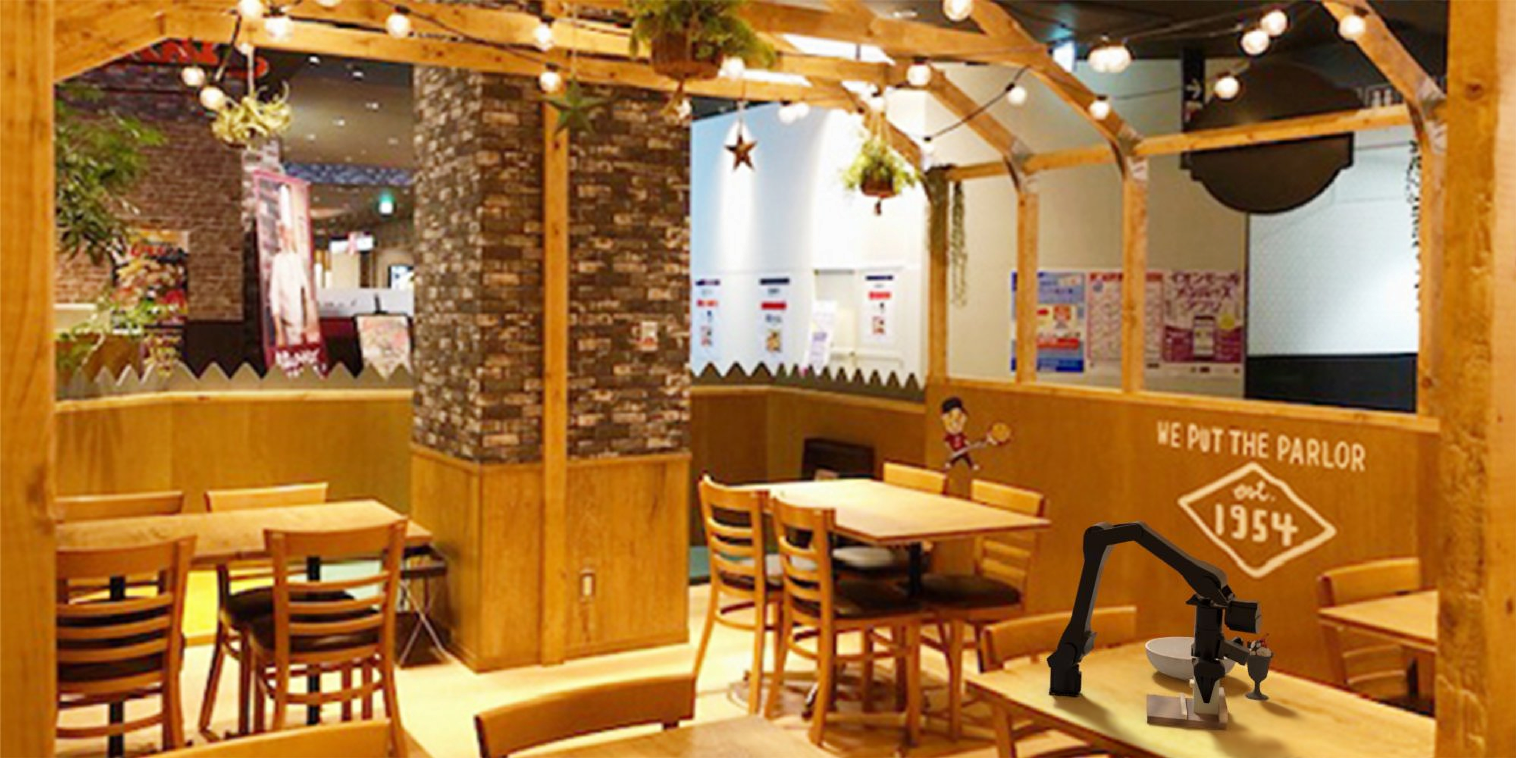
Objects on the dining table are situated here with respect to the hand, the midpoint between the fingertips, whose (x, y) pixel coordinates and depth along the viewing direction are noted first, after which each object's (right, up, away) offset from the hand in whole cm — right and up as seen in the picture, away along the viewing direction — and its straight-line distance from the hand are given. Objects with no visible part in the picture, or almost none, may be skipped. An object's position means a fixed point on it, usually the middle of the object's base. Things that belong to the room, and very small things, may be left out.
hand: (1205, 698), depth 294 cm
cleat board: (-4, -4, +1) cm, 6 cm away
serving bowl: (+7, -2, +32) cm, 32 cm away
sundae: (+17, -3, +15) cm, 23 cm away
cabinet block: (0, -3, 0) cm, 2 cm away
